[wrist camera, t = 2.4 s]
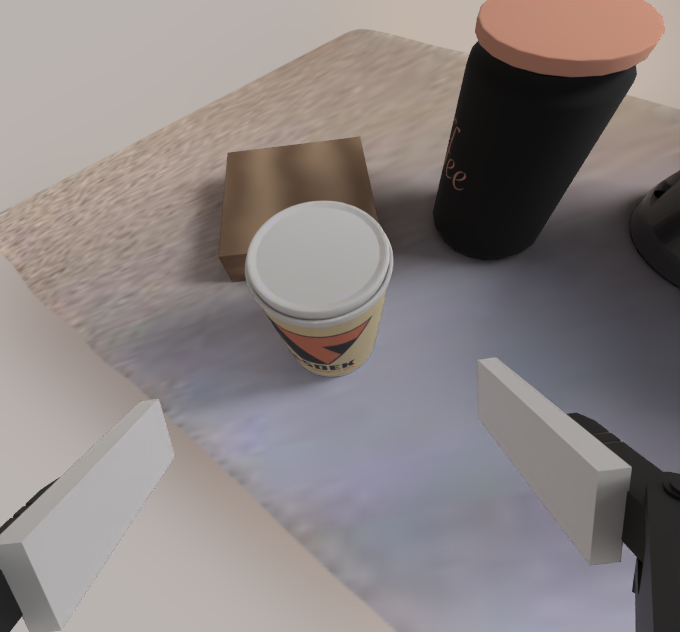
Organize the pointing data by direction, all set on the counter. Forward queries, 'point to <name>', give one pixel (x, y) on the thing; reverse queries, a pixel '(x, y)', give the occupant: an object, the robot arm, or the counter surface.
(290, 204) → the walnut riser
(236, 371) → the counter surface
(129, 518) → the robot arm
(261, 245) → the coffee cup
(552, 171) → the coffee jar
